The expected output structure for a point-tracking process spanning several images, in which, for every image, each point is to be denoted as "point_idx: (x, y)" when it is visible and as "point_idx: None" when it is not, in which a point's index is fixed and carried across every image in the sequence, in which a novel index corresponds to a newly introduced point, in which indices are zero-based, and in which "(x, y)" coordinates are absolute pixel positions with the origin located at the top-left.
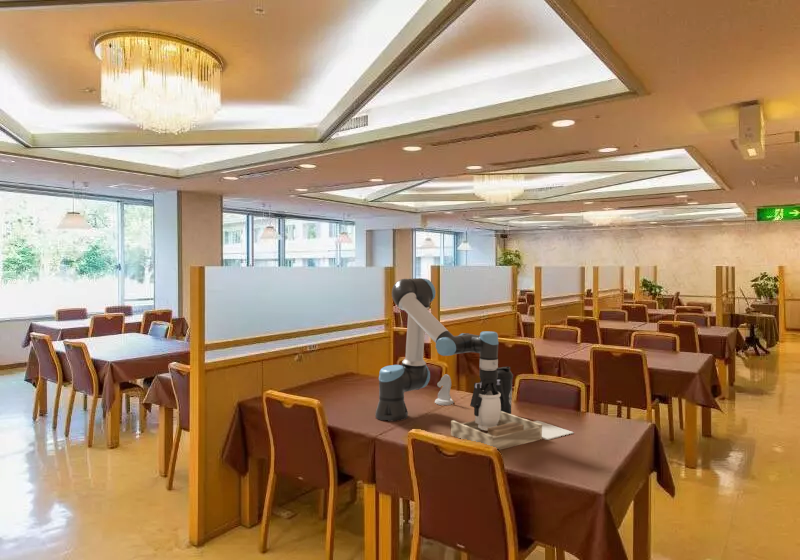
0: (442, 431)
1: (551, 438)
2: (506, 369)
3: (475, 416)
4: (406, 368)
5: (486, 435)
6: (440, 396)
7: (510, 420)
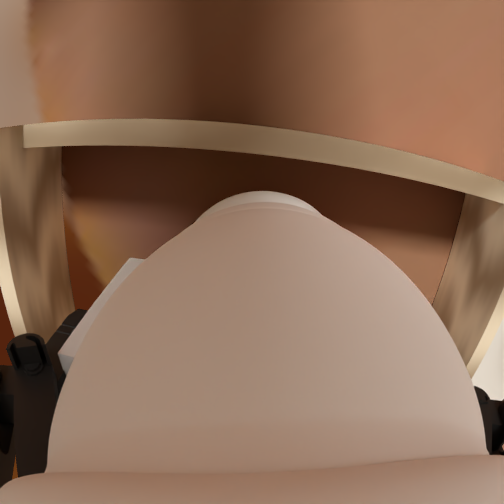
0: (57, 36)
1: None
2: None
3: (106, 290)
4: None
5: None
6: None
7: (471, 298)
